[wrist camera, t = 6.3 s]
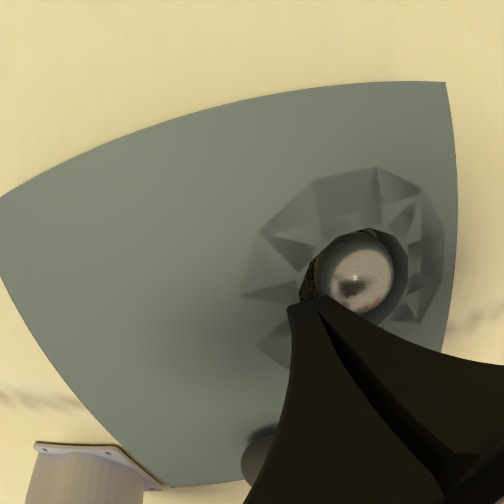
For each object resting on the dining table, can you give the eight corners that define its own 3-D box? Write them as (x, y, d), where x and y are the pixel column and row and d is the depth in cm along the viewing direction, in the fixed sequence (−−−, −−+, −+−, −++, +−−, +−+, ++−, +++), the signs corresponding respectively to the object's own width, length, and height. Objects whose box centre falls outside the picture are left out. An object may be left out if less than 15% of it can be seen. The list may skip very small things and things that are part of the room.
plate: (171, 460, 17) (170, 487, 15) (8, 197, 10) (-25, 213, 7) (406, 395, 18) (421, 418, 16) (408, 86, 10) (445, 82, 8)
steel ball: (344, 289, 14) (338, 340, 11) (304, 240, 13) (290, 288, 10) (402, 259, 12) (411, 311, 9) (365, 203, 11) (369, 247, 9)
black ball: (246, 457, 14) (254, 506, 11) (229, 430, 13) (236, 488, 10) (304, 443, 14) (319, 491, 11) (297, 413, 13) (315, 470, 10)
